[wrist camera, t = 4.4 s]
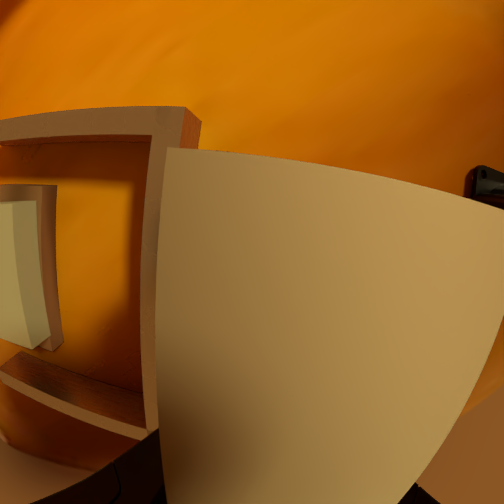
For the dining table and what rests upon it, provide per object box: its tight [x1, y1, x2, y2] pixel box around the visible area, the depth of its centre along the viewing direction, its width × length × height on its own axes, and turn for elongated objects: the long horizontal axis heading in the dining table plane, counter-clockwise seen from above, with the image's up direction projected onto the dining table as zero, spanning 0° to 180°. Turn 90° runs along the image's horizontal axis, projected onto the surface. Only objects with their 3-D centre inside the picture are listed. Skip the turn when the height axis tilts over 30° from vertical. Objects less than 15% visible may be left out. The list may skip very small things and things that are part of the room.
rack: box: [0, 106, 202, 440], centre depth 14 cm, size 13×17×3 cm
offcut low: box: [0, 184, 64, 351], centre depth 16 cm, size 4×10×2 cm, turn 173°
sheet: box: [155, 147, 504, 504], centre depth 8 cm, size 3×12×10 cm, turn 173°
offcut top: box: [0, 201, 51, 349], centre depth 14 cm, size 3×8×2 cm, turn 177°
